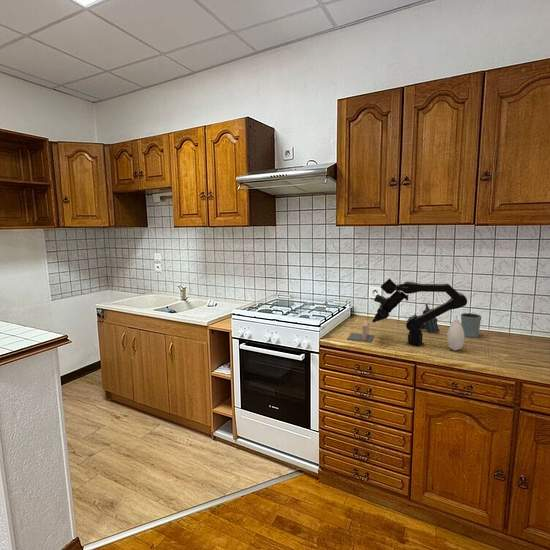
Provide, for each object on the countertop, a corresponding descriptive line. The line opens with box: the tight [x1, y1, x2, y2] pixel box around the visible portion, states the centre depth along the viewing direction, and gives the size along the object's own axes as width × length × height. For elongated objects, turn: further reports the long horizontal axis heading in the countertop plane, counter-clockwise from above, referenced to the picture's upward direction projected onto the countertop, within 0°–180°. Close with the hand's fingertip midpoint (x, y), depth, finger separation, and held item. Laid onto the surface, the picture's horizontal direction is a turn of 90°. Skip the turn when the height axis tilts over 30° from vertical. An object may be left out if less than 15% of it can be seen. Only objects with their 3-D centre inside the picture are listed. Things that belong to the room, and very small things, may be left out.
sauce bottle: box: [446, 315, 465, 351], centre depth 174 cm, size 8×8×18 cm
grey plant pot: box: [460, 312, 482, 339], centre depth 197 cm, size 10×10×12 cm
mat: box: [347, 332, 375, 344], centre depth 196 cm, size 13×12×1 cm
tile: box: [361, 320, 370, 340], centre depth 195 cm, size 2×10×8 cm, turn 157°
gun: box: [421, 303, 441, 333], centre depth 207 cm, size 3×17×15 cm
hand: (373, 319), depth 192 cm, fingers open, 9 cm apart
